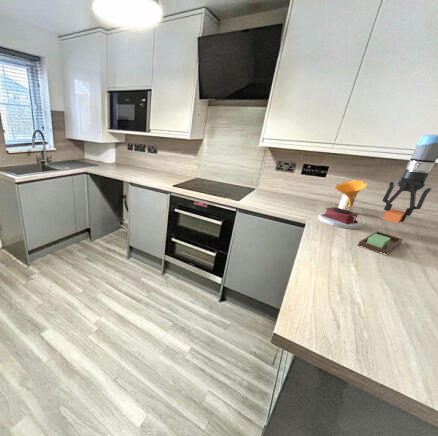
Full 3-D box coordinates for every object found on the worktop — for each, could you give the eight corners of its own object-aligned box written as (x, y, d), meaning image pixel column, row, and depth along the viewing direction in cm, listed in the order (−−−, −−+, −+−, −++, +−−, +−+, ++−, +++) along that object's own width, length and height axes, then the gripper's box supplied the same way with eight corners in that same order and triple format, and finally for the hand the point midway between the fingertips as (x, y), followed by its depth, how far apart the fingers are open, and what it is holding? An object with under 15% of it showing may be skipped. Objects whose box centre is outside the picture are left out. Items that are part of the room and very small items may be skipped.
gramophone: (332, 214, 152) (346, 176, 143) (368, 227, 135) (388, 184, 125) (310, 217, 146) (323, 177, 136) (345, 230, 128) (364, 186, 118)
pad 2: (388, 216, 118) (392, 208, 117) (403, 219, 114) (407, 212, 113) (382, 219, 113) (386, 211, 112) (397, 223, 109) (401, 215, 107)
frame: (401, 243, 117) (403, 239, 116) (385, 255, 104) (387, 250, 103) (375, 235, 125) (376, 231, 124) (357, 245, 111) (359, 241, 111)
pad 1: (372, 240, 116) (375, 233, 114) (387, 245, 111) (390, 238, 110) (365, 245, 110) (368, 237, 109) (380, 250, 106) (384, 242, 105)
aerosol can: (343, 213, 156) (355, 183, 149) (334, 209, 163) (345, 181, 155) (352, 213, 157) (364, 184, 150) (343, 209, 164) (354, 181, 156)
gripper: (387, 167, 110) (366, 213, 119) (446, 176, 96) (418, 227, 104) (391, 167, 114) (371, 211, 123) (450, 175, 100) (422, 224, 108)
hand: (393, 219), depth 114 cm, fingers closed on pad 2, 5 cm apart
